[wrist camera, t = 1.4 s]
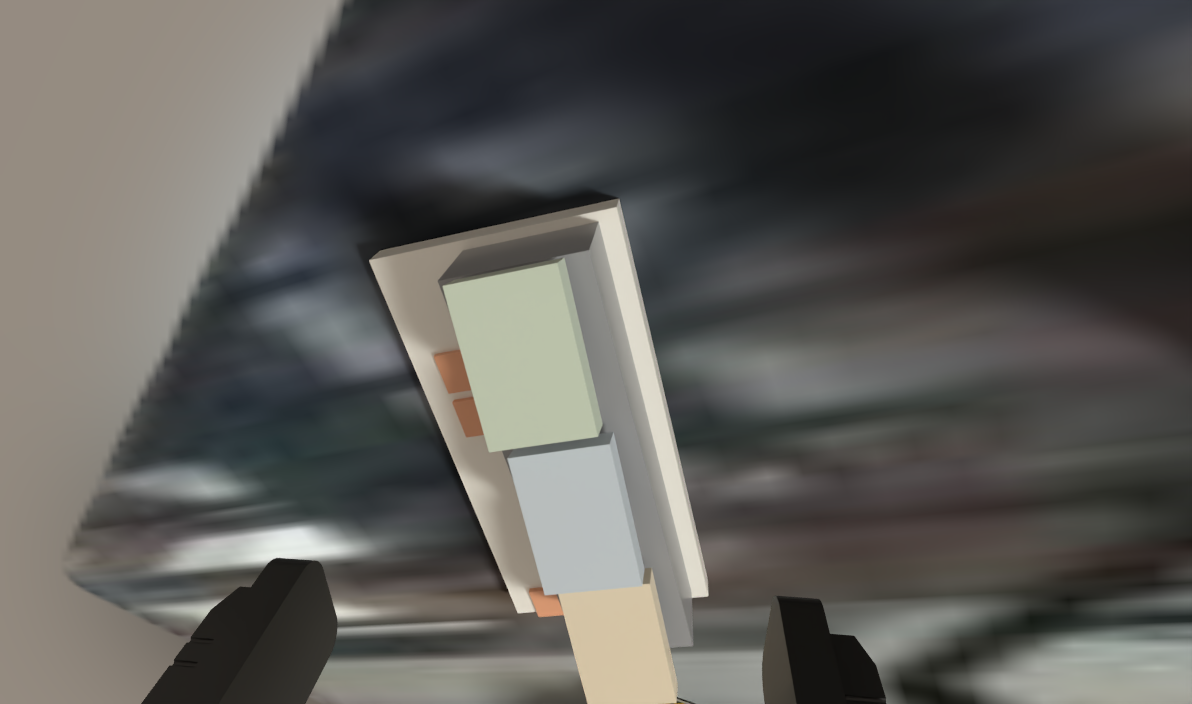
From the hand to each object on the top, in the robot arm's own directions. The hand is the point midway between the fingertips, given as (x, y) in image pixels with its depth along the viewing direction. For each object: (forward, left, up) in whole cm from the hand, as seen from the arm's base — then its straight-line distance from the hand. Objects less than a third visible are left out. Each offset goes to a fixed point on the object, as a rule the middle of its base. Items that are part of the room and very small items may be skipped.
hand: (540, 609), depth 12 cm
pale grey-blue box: (-9, +10, -18) cm, 23 cm away
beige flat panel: (-16, +15, -18) cm, 29 cm away
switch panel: (-7, +12, -24) cm, 28 cm away
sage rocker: (-1, +6, -18) cm, 19 cm away
